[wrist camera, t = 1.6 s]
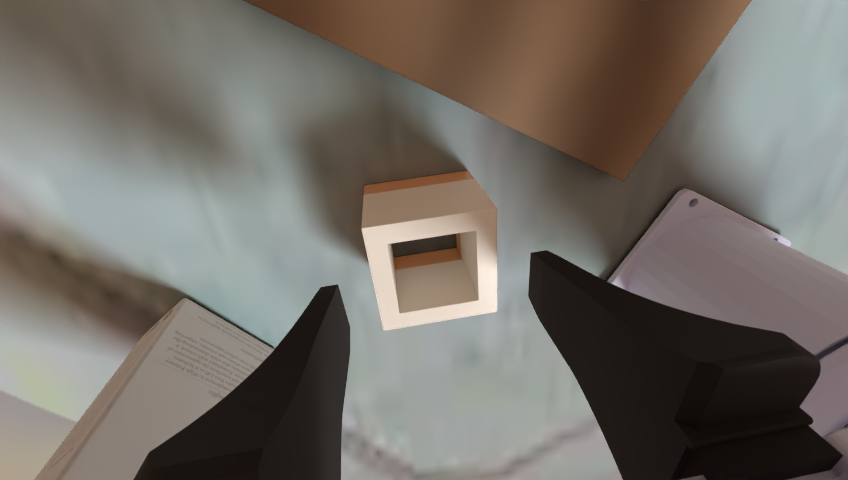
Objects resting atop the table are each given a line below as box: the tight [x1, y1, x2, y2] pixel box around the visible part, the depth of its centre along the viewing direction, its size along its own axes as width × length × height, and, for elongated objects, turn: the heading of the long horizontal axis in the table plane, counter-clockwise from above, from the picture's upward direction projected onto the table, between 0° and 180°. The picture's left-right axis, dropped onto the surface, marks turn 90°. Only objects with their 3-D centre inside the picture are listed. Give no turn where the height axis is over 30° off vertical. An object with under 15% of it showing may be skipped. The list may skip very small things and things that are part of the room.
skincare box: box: [34, 298, 274, 480], centre depth 15 cm, size 6×4×12 cm
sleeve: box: [361, 171, 497, 331], centre depth 16 cm, size 5×5×4 cm
